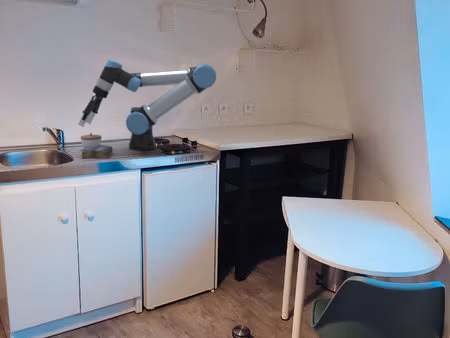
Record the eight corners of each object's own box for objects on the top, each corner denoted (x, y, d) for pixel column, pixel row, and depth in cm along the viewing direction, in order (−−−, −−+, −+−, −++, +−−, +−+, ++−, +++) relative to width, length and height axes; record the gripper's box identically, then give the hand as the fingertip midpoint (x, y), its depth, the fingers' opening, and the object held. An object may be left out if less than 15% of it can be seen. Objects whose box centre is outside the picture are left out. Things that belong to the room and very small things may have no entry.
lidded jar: (98, 152, 222) (97, 135, 220) (78, 151, 222) (77, 134, 220) (104, 148, 232) (103, 131, 230) (85, 148, 232) (84, 131, 230)
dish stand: (112, 153, 221) (112, 145, 219) (109, 158, 208) (108, 149, 207) (87, 153, 219) (86, 145, 218) (82, 158, 206) (81, 150, 205)
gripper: (101, 84, 225) (84, 118, 228) (89, 84, 200) (70, 123, 203) (114, 91, 226) (96, 125, 229) (103, 92, 201) (84, 130, 205)
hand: (84, 124), depth 216 cm, fingers open, 13 cm apart
